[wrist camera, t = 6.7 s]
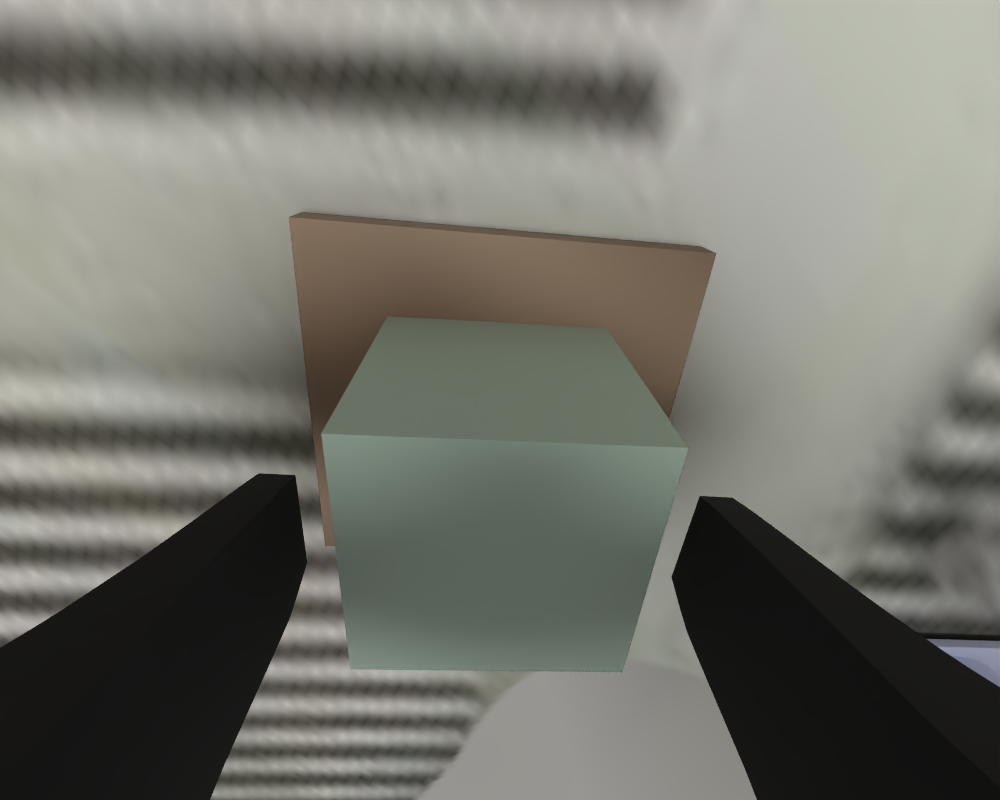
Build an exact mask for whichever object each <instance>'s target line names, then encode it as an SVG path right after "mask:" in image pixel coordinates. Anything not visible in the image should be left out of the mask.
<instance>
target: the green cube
mask: <svg viewBox="0 0 1000 800" xmlns="http://www.w3.org/2000/svg"><path fill="white" fill-rule="evenodd" d="M321 436H322V444H323V452H324V460H325V468H326V476H327V484H328V492H329V500H330V508H331V516H332V524H333V532H334V540H335V548H336V556H337V564H338V572H339V580H340V588H341V596H342V604H343V612H344V620H345V628H346V636H347V644H348V652H349V660H350V668H351V669H383V670H477V671H575V672H576V671H577V672H580V671H581V672H622V671H623V668H624V665H625V661H626V658H627V655H628V651H629V648H630V644H631V641H632V638H633V634H634V631H635V627H636V624H637V621H638V617H639V614H640V611H641V607H642V604H643V600H644V597H645V594H646V590H647V587H648V584H649V580H650V577H651V573H652V570H653V567H654V563H655V560H656V557H657V553H658V550H659V546H660V543H661V540H662V536H663V533H664V529H665V526H666V523H667V519H668V516H669V513H670V509H671V506H672V502H673V499H674V496H675V492H676V489H677V486H678V482H679V479H680V475H681V472H682V469H683V465H684V462H685V459H686V455H687V452H688V446H687V445H686V443H685V442H684V440H683V439H682V438H681V436H680V435H679V433H678V432H677V430H676V429H675V427H674V426H673V424H672V423H671V421H670V420H669V419H668V417H667V416H666V414H665V413H664V411H663V410H662V408H661V407H660V405H659V404H658V402H657V401H656V400H655V398H654V397H653V395H652V394H651V392H650V391H649V389H648V388H647V386H646V385H645V383H644V382H643V381H642V379H641V378H640V376H639V375H638V373H637V372H636V370H635V369H634V367H633V366H632V365H631V363H630V362H629V360H628V359H627V357H626V356H625V354H624V353H623V351H622V350H621V348H620V347H619V346H618V344H617V343H616V341H615V340H614V338H613V337H612V335H611V334H610V332H609V331H608V329H607V328H598V327H579V326H560V325H542V324H523V323H504V322H485V321H467V320H448V319H429V318H410V317H392V316H387V318H386V320H385V321H384V323H383V325H382V327H381V329H380V330H379V332H378V334H377V336H376V337H375V339H374V341H373V343H372V345H371V346H370V348H369V350H368V352H367V353H366V355H365V357H364V359H363V361H362V362H361V364H360V366H359V368H358V369H357V371H356V373H355V375H354V376H353V378H352V380H351V382H350V384H349V385H348V387H347V389H346V391H345V392H344V394H343V396H342V398H341V400H340V401H339V403H338V405H337V407H336V408H335V410H334V412H333V414H332V415H331V417H330V419H329V421H328V423H327V424H326V426H325V428H324V430H323V431H322V433H321Z"/></svg>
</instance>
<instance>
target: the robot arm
mask: <svg viewBox="0 0 1000 800" xmlns="http://www.w3.org/2000/svg"><path fill="white" fill-rule="evenodd" d="M306 564H307V558H306V551H305V543H304V536H303V528H302V521H301V514H300V506H299V499H298V492H297V484H296V477H295V475H279V474H260V473H259V474H258V475H256V476H255V477H253V478H252V479H250V480H249V481H247V482H246V483H244V484H243V485H242V486H240V487H239V488H237V489H236V490H235V491H233V492H232V493H230V494H229V495H228V496H226V497H225V498H224V499H222V500H221V501H220V502H218V503H217V504H215V505H214V506H213V507H211V508H210V509H209V510H207V511H206V512H204V513H203V514H202V515H200V516H199V517H198V518H196V519H195V520H193V521H192V522H191V523H189V524H188V525H186V526H185V527H184V528H182V529H181V530H179V531H178V532H177V533H175V534H174V535H172V536H171V537H170V538H168V539H167V540H165V541H164V542H163V543H161V544H160V545H158V546H157V547H156V548H154V549H153V550H151V551H150V552H149V553H147V554H146V555H144V556H143V557H141V558H140V559H139V560H137V561H135V562H134V563H132V564H131V565H129V566H128V567H126V568H125V569H123V570H122V571H120V572H119V573H117V574H116V575H114V576H113V577H111V578H110V579H108V580H107V581H105V582H104V583H102V584H101V585H99V586H98V587H96V588H95V589H93V590H92V591H90V592H89V593H87V594H86V595H84V596H83V597H81V598H80V599H78V600H76V601H75V602H73V603H72V604H70V605H69V606H67V607H66V608H64V609H63V610H61V611H60V612H58V613H57V614H55V615H53V616H52V617H50V618H49V619H47V620H45V621H44V622H42V623H41V624H39V625H37V626H36V627H34V628H32V629H31V630H29V631H27V632H26V633H24V634H23V635H21V636H19V637H18V638H16V639H14V640H13V641H11V642H9V643H8V644H6V645H4V646H3V647H1V648H0V800H210V798H211V796H212V793H213V791H214V788H215V786H216V783H217V781H218V779H219V776H220V774H221V771H222V769H223V766H224V764H225V762H226V759H227V757H228V755H229V753H230V751H231V748H232V746H233V744H234V742H235V739H236V737H237V735H238V733H239V731H240V728H241V726H242V724H243V722H244V719H245V717H246V715H247V713H248V711H249V708H250V706H251V704H252V702H253V700H254V697H255V695H256V693H257V691H258V688H259V686H260V684H261V682H262V680H263V677H264V675H265V673H266V671H267V669H268V666H269V664H270V662H271V660H272V657H273V655H274V653H275V651H276V648H277V646H278V644H279V641H280V639H281V637H282V635H283V632H284V630H285V628H286V625H287V623H288V621H289V619H290V615H291V612H292V609H293V606H294V603H295V600H296V597H297V594H298V591H299V587H300V584H301V581H302V578H303V574H304V571H305V568H306ZM672 580H673V584H674V588H675V591H676V595H677V599H678V603H679V606H680V610H681V613H682V616H683V620H684V623H685V626H686V630H687V633H688V635H689V637H690V640H691V642H692V645H693V647H694V650H695V652H696V655H697V657H698V659H699V662H700V664H701V667H702V669H703V671H704V674H705V676H706V679H707V681H708V683H709V686H710V688H711V690H712V692H713V695H714V697H715V699H716V702H717V704H718V707H719V709H720V711H721V714H722V716H723V718H724V721H725V723H726V725H727V727H728V730H729V732H730V735H731V737H732V739H733V742H734V744H735V746H736V749H737V751H738V753H739V756H740V758H741V760H742V763H743V765H744V767H745V770H746V773H747V775H748V778H749V780H750V783H751V785H752V788H753V791H754V793H755V796H756V798H757V800H1000V641H984V640H951V639H926V638H924V637H923V636H921V635H920V634H918V633H917V632H916V631H914V630H913V629H911V628H910V627H908V626H907V625H905V624H904V623H903V622H901V621H900V620H898V619H897V618H895V617H894V616H892V615H891V614H890V613H888V612H887V611H885V610H884V609H883V608H881V607H880V606H878V605H877V604H876V603H874V602H873V601H872V600H870V599H869V598H867V597H866V596H865V595H863V594H862V593H860V592H859V591H858V590H856V589H855V588H854V587H852V586H851V585H850V584H848V583H847V582H846V581H844V580H843V579H842V578H840V577H839V576H838V575H836V574H835V573H834V572H832V571H831V570H830V569H828V568H827V567H826V566H824V565H823V564H822V563H820V562H819V561H818V560H816V559H815V558H814V557H812V556H811V555H810V554H808V553H807V552H806V551H804V550H803V549H802V548H800V547H799V546H798V545H797V544H795V543H794V542H793V541H791V540H790V539H789V538H787V537H786V536H785V535H783V534H782V533H781V532H779V531H778V530H777V529H775V528H774V527H773V526H771V525H770V524H769V523H767V522H766V521H765V520H763V519H762V518H761V517H759V516H758V515H757V514H755V513H754V512H752V511H751V510H750V509H748V508H747V507H745V506H744V505H742V504H741V503H739V502H738V501H736V500H735V499H733V498H727V497H707V496H700V497H699V500H698V503H697V506H696V509H695V512H694V514H693V517H692V520H691V523H690V526H689V529H688V532H687V534H686V537H685V540H684V543H683V546H682V549H681V552H680V554H679V557H678V560H677V563H676V566H675V569H674V572H673V574H672Z"/></svg>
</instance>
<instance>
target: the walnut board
mask: <svg viewBox="0 0 1000 800" xmlns="http://www.w3.org/2000/svg"><path fill="white" fill-rule="evenodd" d="M289 222H290V231H291V240H292V249H293V258H294V267H295V276H296V285H297V294H298V303H299V313H300V322H301V331H302V340H303V349H304V358H305V367H306V376H307V385H308V394H309V403H310V412H311V421H312V430H313V439H314V448H315V458H316V467H317V476H318V485H319V494H320V503H321V512H322V521H323V530H324V539H325V546H335V540H334V532H333V524H332V516H331V508H330V500H329V492H328V484H327V476H326V468H325V460H324V452H323V444H322V436H321V433H322V431H323V430H324V428H325V426H326V424H327V423H328V421H329V419H330V417H331V415H332V414H333V412H334V410H335V408H336V407H337V405H338V403H339V401H340V400H341V398H342V396H343V394H344V392H345V391H346V389H347V387H348V385H349V384H350V382H351V380H352V378H353V376H354V375H355V373H356V371H357V369H358V368H359V366H360V364H361V362H362V361H363V359H364V357H365V355H366V353H367V352H368V350H369V348H370V346H371V345H372V343H373V341H374V339H375V337H376V336H377V334H378V332H379V330H380V329H381V327H382V325H383V323H384V321H385V320H386V318H387V316H392V317H410V318H429V319H448V320H467V321H485V322H504V323H523V324H542V325H560V326H579V327H598V328H607V329H608V331H609V332H610V334H611V335H612V337H613V338H614V340H615V341H616V343H617V344H618V346H619V347H620V348H621V350H622V351H623V353H624V354H625V356H626V357H627V359H628V360H629V362H630V363H631V365H632V366H633V367H634V369H635V370H636V372H637V373H638V375H639V376H640V378H641V379H642V381H643V382H644V383H645V385H646V386H647V388H648V389H649V391H650V392H651V394H652V395H653V397H654V398H655V400H656V401H657V402H658V404H659V405H660V407H661V408H662V410H663V411H664V413H665V414H666V416H667V417H668V419H669V417H670V413H671V410H672V406H673V403H674V399H675V396H676V392H677V389H678V385H679V382H680V378H681V375H682V371H683V368H684V364H685V361H686V357H687V354H688V350H689V347H690V343H691V340H692V337H693V333H694V330H695V326H696V323H697V319H698V316H699V312H700V309H701V305H702V302H703V298H704V295H705V291H706V288H707V284H708V281H709V277H710V274H711V270H712V267H713V263H714V260H715V256H716V253H714V252H712V251H710V250H707V249H705V248H703V247H698V246H687V245H675V244H664V243H652V242H640V241H629V240H617V239H606V238H594V237H582V236H571V235H559V234H547V233H536V232H524V231H513V230H501V229H489V228H478V227H466V226H454V225H443V224H431V223H420V222H408V221H396V220H385V219H373V218H362V217H350V216H338V215H327V214H315V213H303V212H302V213H299V214H296V215H293V216H291V217H289Z"/></svg>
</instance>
